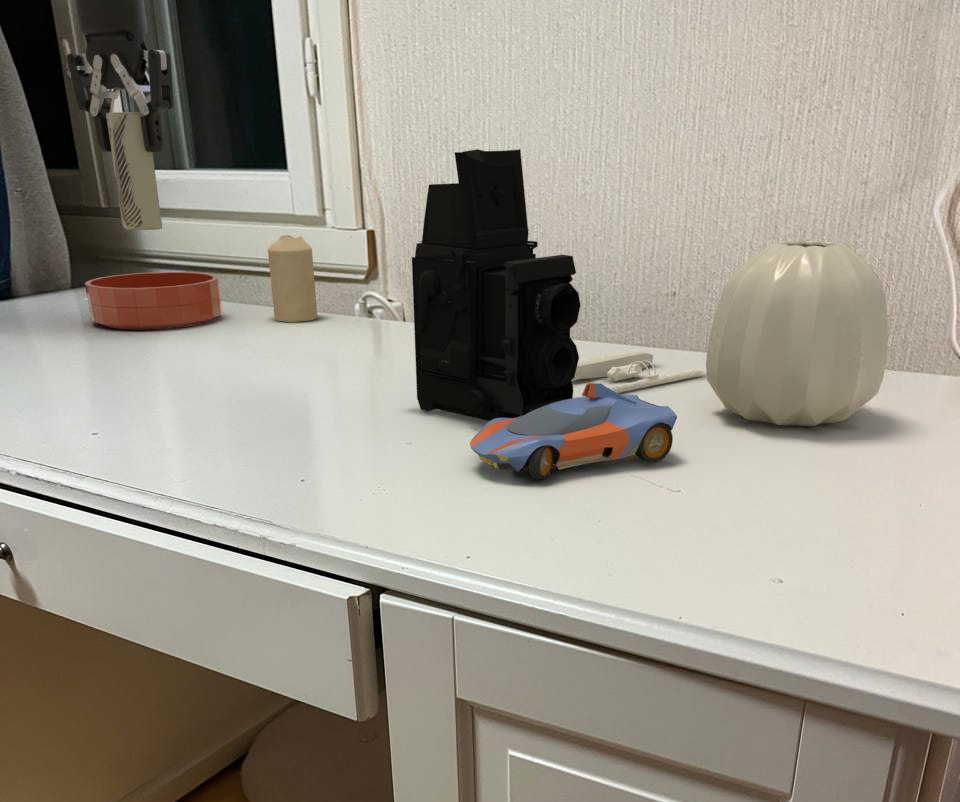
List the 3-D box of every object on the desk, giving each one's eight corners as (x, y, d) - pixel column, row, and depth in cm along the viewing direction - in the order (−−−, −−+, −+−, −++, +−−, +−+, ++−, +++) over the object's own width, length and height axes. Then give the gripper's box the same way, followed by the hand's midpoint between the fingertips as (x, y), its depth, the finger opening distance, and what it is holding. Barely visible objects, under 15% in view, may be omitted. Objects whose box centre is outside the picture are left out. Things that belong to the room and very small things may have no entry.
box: (122, 228, 124) (103, 112, 119) (158, 226, 126) (141, 112, 120) (127, 231, 120) (108, 111, 114) (164, 229, 122) (147, 111, 116)
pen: (548, 384, 93) (548, 366, 92) (645, 363, 101) (646, 346, 100) (559, 387, 92) (560, 369, 91) (657, 365, 100) (658, 349, 99)
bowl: (64, 326, 125) (56, 284, 122) (154, 307, 138) (148, 269, 135) (163, 335, 118) (157, 291, 116) (247, 314, 131) (243, 275, 129)
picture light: (600, 397, 88) (601, 373, 87) (567, 389, 91) (568, 366, 90) (705, 376, 96) (707, 354, 95) (671, 368, 99) (673, 347, 98)
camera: (521, 441, 76) (524, 150, 67) (403, 411, 84) (391, 149, 75) (600, 416, 82) (613, 148, 73) (483, 391, 91) (482, 147, 82)
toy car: (451, 459, 72) (449, 385, 69) (622, 433, 78) (626, 364, 75) (503, 491, 65) (503, 410, 63) (685, 459, 71) (692, 385, 69)
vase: (867, 400, 86) (895, 236, 80) (879, 443, 74) (913, 254, 68) (707, 392, 90) (722, 234, 84) (694, 432, 78) (711, 251, 72)
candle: (271, 316, 130) (262, 235, 125) (312, 314, 131) (305, 233, 127) (278, 323, 125) (270, 238, 120) (321, 320, 127) (315, 236, 122)
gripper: (35, -13, 111) (64, 152, 119) (132, -22, 106) (156, 152, 113) (85, -6, 117) (110, 151, 125) (179, -13, 112) (199, 151, 119)
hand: (132, 151), depth 119 cm, fingers closed on box, 6 cm apart
